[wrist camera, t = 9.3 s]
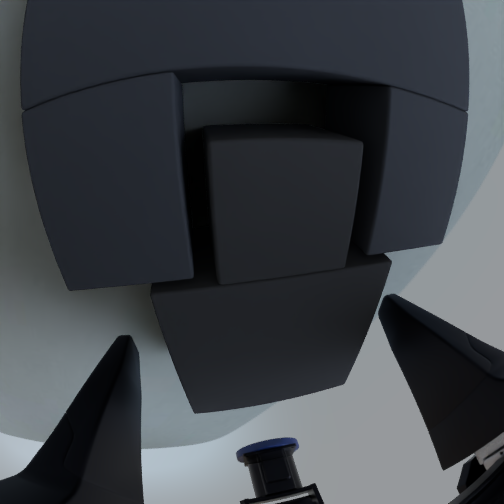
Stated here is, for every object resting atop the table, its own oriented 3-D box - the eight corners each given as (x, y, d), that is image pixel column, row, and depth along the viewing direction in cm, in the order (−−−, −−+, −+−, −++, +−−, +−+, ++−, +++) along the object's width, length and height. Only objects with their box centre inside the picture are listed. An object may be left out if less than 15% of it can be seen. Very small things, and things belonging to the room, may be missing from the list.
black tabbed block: (351, 127, 7) (417, 148, 5) (319, 333, 12) (344, 384, 10) (147, 132, 6) (118, 152, 4) (189, 354, 11) (194, 414, 9)
